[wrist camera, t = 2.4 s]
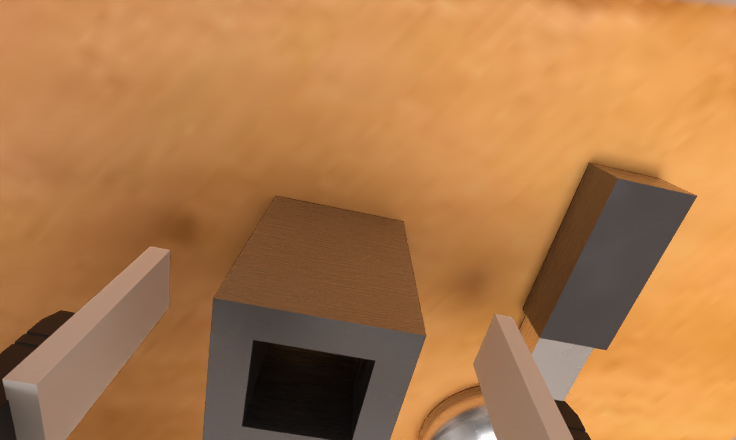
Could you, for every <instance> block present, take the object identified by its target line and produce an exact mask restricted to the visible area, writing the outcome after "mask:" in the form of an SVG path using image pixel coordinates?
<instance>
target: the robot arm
mask: <svg viewBox="0 0 736 440" xmlns="http://www.w3.org/2000/svg"><path fill="white" fill-rule="evenodd" d="M169 301H170V250H168V249H163V248H158V247H153V246H150V247H149V248H148V249H147V250H145V251H144V252H143V253H142V254H141V255H140V256H139V257H138V258H137V259H135V260H134V261H133V262H132V263H131V264H130V265H129V266H128V267H126V268H125V269H124V270H123V271H122V272H121V273H120V274H119V275H118V276H116V277H115V278H114V279H113V280H112V281H111V282H110V283H109V284H108V285H106V286H105V287H104V288H103V289H102V290H101V291H100V292H99V293H98V294H96V295H95V296H94V297H93V298H92V299H91V300H90V301H89V302H88V303H86V304H85V305H84V306H83V307H82V308H81V309H80V310H79V311H78V312H76V313H72V312H67V311H59V312H57V313H55V314H53V315H50V316H48V317H46V318H44V319H42V320H41V321H39V322H38V323H37V324H36V325H35V326H33V327H32V328H31V329H30V330H29V331H27V334H24V335H23V336H21V337H20V338H19V339H18V340H16V341H15V344H12V345H10V346H9V347H8V348H7V349H6V350H4V351H3V352H2V353H1V354H0V440H66V439H67V438H68V436H69V435H70V434H71V433H72V431H73V430H74V429H75V427H76V426H77V425H78V424H79V422H80V421H81V420H82V418H83V417H84V416H85V415H86V413H87V412H88V411H89V410H90V408H91V407H92V406H93V404H94V403H95V402H96V401H97V399H98V398H99V397H100V395H101V394H102V393H103V392H104V390H105V389H106V388H107V387H108V385H109V384H110V383H111V381H112V380H113V379H114V378H115V376H116V375H117V374H118V372H119V371H120V370H121V369H122V367H123V366H124V365H125V363H126V362H127V361H128V360H129V358H130V357H131V356H132V355H133V353H134V352H135V351H136V349H137V348H138V347H139V346H140V344H141V343H142V342H143V340H144V339H145V338H146V337H147V335H148V334H149V333H150V332H151V330H152V329H153V328H154V326H155V325H156V324H157V323H158V321H159V320H160V319H161V317H162V316H163V315H164V314H165V312H166V311H167V310H168V309H169ZM473 365H474V368H475V371H476V375H477V378H478V381H479V384H480V388H481V391H482V394H483V398H484V401H485V404H486V408H487V411H488V414H489V417H490V421H491V424H492V427H493V431H494V434H495V437H496V440H591V439H590V437H589V435H588V434H587V433H586V432H585V428H584V426H583V424H582V422H581V421H580V419H579V417H578V415H577V414H576V413H575V412H574V411H573V410H572V409H571V407H570V406H569V405H568V404H567V403H566V402H565V401H560V400H555V399H553V397H552V395H551V393H550V391H549V389H548V387H547V385H546V383H545V381H544V379H543V377H542V375H541V373H540V371H539V369H538V367H537V365H536V363H535V361H534V359H533V357H532V355H531V353H530V351H529V349H528V347H527V345H526V343H525V341H524V339H523V337H522V335H521V333H520V331H519V329H518V327H517V325H516V323H515V321H514V319H513V317H509V316H504V315H499V314H495V315H494V317H493V319H492V322H491V324H490V326H489V329H488V331H487V333H486V336H485V338H484V340H483V343H482V345H481V347H480V350H479V352H478V354H477V357H476V359H475V361H474V364H473Z"/></svg>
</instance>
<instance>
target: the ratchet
mask: <svg viewBox="0 0 736 440" xmlns="http://www.w3.org/2000/svg"><path fill="white" fill-rule="evenodd" d="M696 197H697V196H696V195H694V194H692V193H690V192H688V191H685V190H683V189H681V188H679V187H677V186H675V185H672V184H670V183H668V182H666V181H664V180H661V179H659V178H654V177H650V176H645V175H641V174H636V173H632V172H627V171H623V170H619V169H614V168H610V167H605V166H601V165H596V164H592V163H589V165H588V167H587V170H586V172H585V174H584V176H583V178H582V181H581V183H580V185H579V187H578V189H577V191H576V194H575V196H574V198H573V200H572V202H571V205H570V207H569V209H568V211H567V213H566V216H565V218H564V220H563V222H562V224H561V227H560V229H559V231H558V233H557V235H556V238H555V240H554V242H553V244H552V246H551V248H550V251H549V253H548V255H547V257H546V259H545V262H544V264H543V266H542V268H541V270H540V273H539V275H538V277H537V279H536V281H535V284H534V286H533V288H532V290H531V292H530V294H529V297H528V299H527V301H526V303H525V305H524V308H523V311H524V313H525V314H526V316H525V318H524V320H523V323H522V325H521V327H520V329H519V331H520V333H521V335H522V337H523V339H524V341H525V343H526V345H527V347H528V349H529V351H530V353H531V355H532V357H533V359H534V361H535V363H536V365H537V367H538V369H539V371H540V373H541V375H542V377H543V379H544V381H545V383H546V385H547V387H548V389H549V391H550V393H551V395H552V397H553V399H555V400H560V401H564V399H565V397H566V395H567V394H568V392H569V390H570V388H571V387H572V385H573V383H574V381H575V380H576V378H577V376H578V374H579V373H580V371H581V369H582V367H583V366H584V364H585V362H586V360H587V359H588V357H589V355H590V353H591V352H592V350H593V348H597V349H603V350H607V348H608V347H609V345H610V343H611V342H612V340H613V338H614V337H615V335H616V333H617V331H618V330H619V328H620V326H621V325H622V323H623V321H624V320H625V318H626V316H627V314H628V313H629V311H630V309H631V308H632V306H633V304H634V303H635V301H636V299H637V297H638V296H639V294H640V292H641V291H642V289H643V287H644V286H645V284H646V282H647V280H648V279H649V277H650V275H651V274H652V272H653V270H654V269H655V267H656V265H657V263H658V262H659V260H660V258H661V257H662V255H663V253H664V252H665V250H666V248H667V246H668V245H669V243H670V241H671V240H672V238H673V236H674V235H675V233H676V231H677V229H678V228H679V226H680V224H681V223H682V221H683V219H684V218H685V216H686V214H687V213H688V211H689V209H690V207H691V206H692V204H693V202H694V201H695V199H696ZM419 440H496V437H495V434H494V431H493V427H492V424H491V421H490V417H489V414H488V411H487V408H486V404H485V401H484V398H483V394H482V391H481V388H480V386H477V387H474V388H470V389H467V390H464V391H462V392H459V393H457V394H455V395H453V396H451V397H449V398H448V399H446V400H445V401H443V402H442V403H441V404H439V405H438V406H437V407H436V408H435V409H434V410H433V411H432V412H431V413H430V414H429V415H428V417H427V418H426V420H425V421H424V423H423V426H422V428H421V431H420V435H419Z"/></svg>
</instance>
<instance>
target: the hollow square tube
mask: <svg viewBox="0 0 736 440" xmlns="http://www.w3.org/2000/svg"><path fill="white" fill-rule="evenodd" d="M425 338H426V333H425V328H424V323H423V318H422V313H421V308H420V303H419V298H418V293H417V288H416V283H415V278H414V273H413V268H412V263H411V258H410V253H409V248H408V243H407V238H406V233H405V228H404V223H403V221H398V220H393V219H388V218H383V217H378V216H373V215H368V214H363V213H358V212H353V211H348V210H343V209H338V208H333V207H329V206H324V205H319V204H314V203H309V202H304V201H299V200H294V199H289V198H284V197H279V196H275V198H274V199H273V201H272V203H271V204H270V206H269V208H268V209H267V211H266V212H265V214H264V216H263V217H262V219H261V221H260V222H259V224H258V226H257V227H256V229H255V230H254V232H253V234H252V235H251V237H250V239H249V240H248V242H247V244H246V245H245V247H244V249H243V250H242V252H241V253H240V255H239V257H238V258H237V260H236V262H235V263H234V265H233V267H232V268H231V270H230V272H229V273H228V275H227V276H226V278H225V280H224V281H223V283H222V285H221V286H220V288H219V290H218V291H217V293H216V295H215V296H214V298H213V309H212V322H211V335H210V349H209V362H208V375H207V388H206V401H205V414H204V427H203V440H390V438H391V435H392V432H393V429H394V426H395V424H396V421H397V418H398V415H399V412H400V409H401V406H402V404H403V401H404V398H405V395H406V392H407V389H408V386H409V383H410V381H411V378H412V375H413V372H414V369H415V366H416V363H417V361H418V358H419V355H420V352H421V349H422V346H423V343H424V341H425Z"/></svg>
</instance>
